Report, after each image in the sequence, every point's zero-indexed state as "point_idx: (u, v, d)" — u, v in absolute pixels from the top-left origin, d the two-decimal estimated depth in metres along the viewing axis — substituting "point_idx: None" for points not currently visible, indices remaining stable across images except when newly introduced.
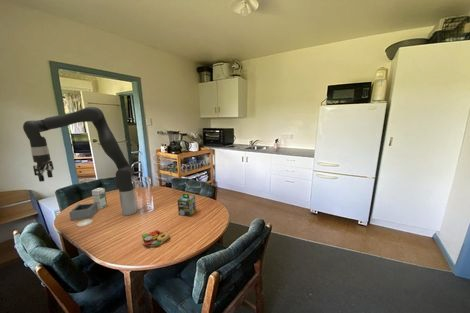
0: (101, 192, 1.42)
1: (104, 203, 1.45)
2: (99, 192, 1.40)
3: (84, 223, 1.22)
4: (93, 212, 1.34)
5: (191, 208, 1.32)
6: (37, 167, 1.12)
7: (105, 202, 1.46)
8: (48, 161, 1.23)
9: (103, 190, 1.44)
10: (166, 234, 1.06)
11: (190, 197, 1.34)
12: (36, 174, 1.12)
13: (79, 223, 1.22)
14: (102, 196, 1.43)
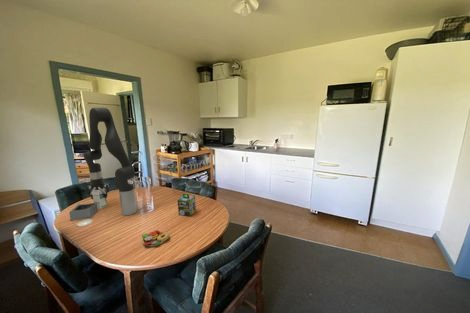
0: (101, 192, 1.42)
1: (104, 203, 1.45)
2: (99, 192, 1.40)
3: (84, 223, 1.22)
4: (93, 212, 1.34)
5: (191, 208, 1.32)
6: (108, 185, 1.45)
7: (105, 202, 1.46)
8: (89, 186, 1.41)
9: None
10: (166, 234, 1.06)
11: (190, 197, 1.34)
12: None
13: (79, 223, 1.22)
14: (102, 196, 1.43)
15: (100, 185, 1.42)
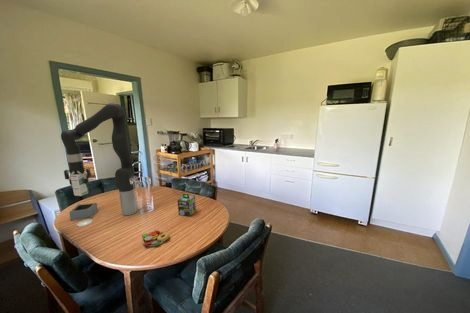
0: (81, 177, 1.27)
1: (84, 189, 1.29)
2: (78, 177, 1.25)
3: (84, 223, 1.22)
4: (93, 212, 1.34)
5: (191, 208, 1.32)
6: (89, 169, 1.30)
7: (86, 189, 1.31)
8: (67, 170, 1.26)
9: None
10: (166, 234, 1.06)
11: (190, 197, 1.34)
12: (90, 176, 1.29)
13: (79, 223, 1.22)
14: (83, 182, 1.28)
15: (80, 169, 1.26)
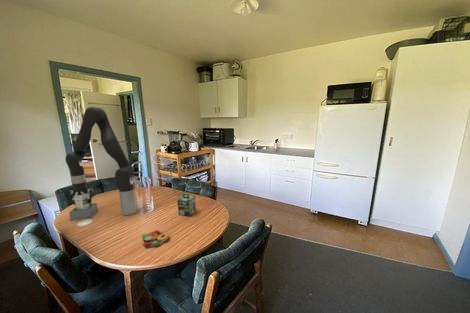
0: (85, 197, 1.30)
1: None
2: (81, 198, 1.28)
3: (84, 223, 1.22)
4: (93, 212, 1.34)
5: (191, 208, 1.32)
6: (92, 190, 1.32)
7: None
8: (70, 190, 1.29)
9: None
10: (166, 234, 1.06)
11: (190, 197, 1.34)
12: (93, 196, 1.32)
13: (79, 223, 1.22)
14: (86, 202, 1.31)
15: (83, 190, 1.29)
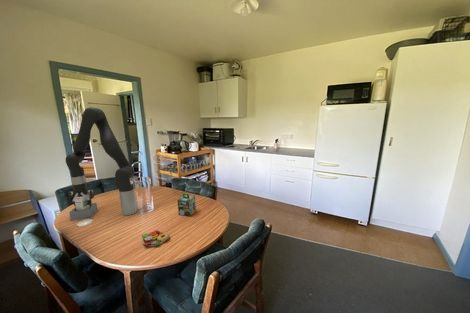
0: (85, 199, 1.31)
1: None
2: (82, 199, 1.29)
3: (84, 223, 1.22)
4: (93, 212, 1.34)
5: (191, 208, 1.32)
6: (92, 191, 1.33)
7: None
8: (71, 191, 1.29)
9: None
10: (166, 234, 1.06)
11: (190, 197, 1.34)
12: (93, 197, 1.32)
13: (79, 223, 1.22)
14: (86, 203, 1.32)
15: (83, 191, 1.29)
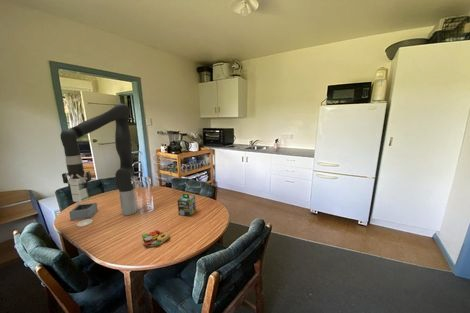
0: (81, 181, 1.17)
1: (84, 195, 1.20)
2: (78, 181, 1.15)
3: (84, 223, 1.22)
4: (93, 212, 1.34)
5: (191, 208, 1.32)
6: None
7: (86, 194, 1.21)
8: (65, 173, 1.15)
9: None
10: (166, 234, 1.06)
11: (190, 197, 1.34)
12: (90, 179, 1.19)
13: (79, 223, 1.22)
14: (83, 186, 1.18)
15: (79, 172, 1.16)
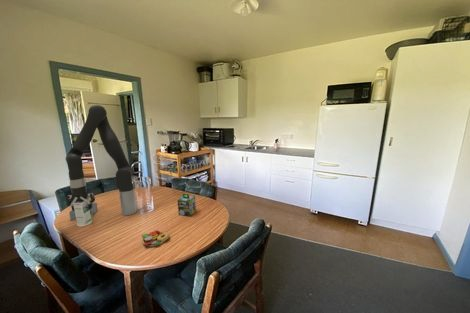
0: (85, 204, 1.21)
1: (88, 217, 1.23)
2: (82, 205, 1.19)
3: None
4: (93, 212, 1.34)
5: (191, 208, 1.32)
6: (93, 194, 1.22)
7: (90, 216, 1.24)
8: (69, 195, 1.18)
9: None
10: (166, 234, 1.06)
11: (190, 197, 1.34)
12: None
13: None
14: (87, 209, 1.22)
15: (83, 194, 1.19)
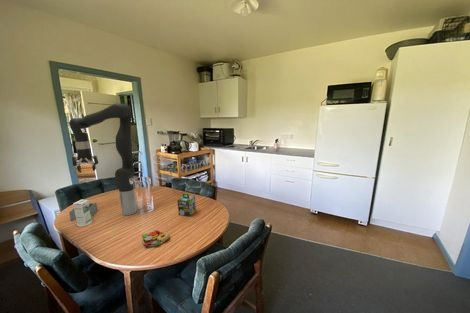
0: (85, 204, 1.21)
1: (88, 217, 1.23)
2: (82, 205, 1.19)
3: None
4: (93, 212, 1.34)
5: (191, 208, 1.32)
6: (96, 157, 1.35)
7: (90, 216, 1.24)
8: (75, 157, 1.31)
9: (87, 202, 1.22)
10: (166, 234, 1.06)
11: (190, 197, 1.34)
12: (97, 163, 1.34)
13: None
14: (87, 209, 1.22)
15: (87, 156, 1.31)
